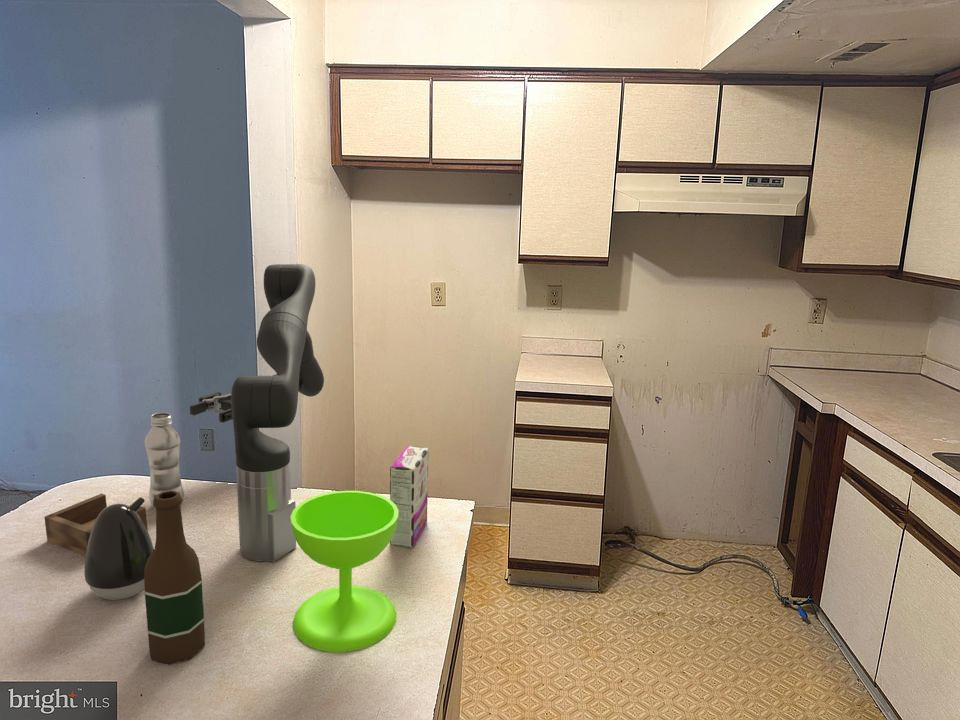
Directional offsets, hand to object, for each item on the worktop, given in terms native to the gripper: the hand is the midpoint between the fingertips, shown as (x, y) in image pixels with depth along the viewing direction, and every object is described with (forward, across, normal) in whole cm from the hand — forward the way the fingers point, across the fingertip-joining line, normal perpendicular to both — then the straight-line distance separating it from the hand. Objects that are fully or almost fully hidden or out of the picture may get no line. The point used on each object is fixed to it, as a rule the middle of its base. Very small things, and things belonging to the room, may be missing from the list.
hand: (205, 414), depth 141 cm
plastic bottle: (+12, 0, +17) cm, 21 cm away
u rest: (+26, -1, +17) cm, 30 cm away
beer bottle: (+42, +37, +16) cm, 58 cm away
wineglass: (+24, +54, +16) cm, 62 cm away
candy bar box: (-4, +49, +17) cm, 52 cm away
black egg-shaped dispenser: (+36, +18, +16) cm, 43 cm away
